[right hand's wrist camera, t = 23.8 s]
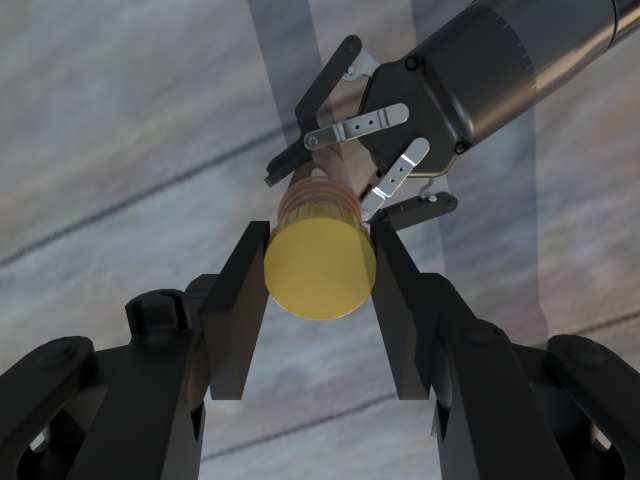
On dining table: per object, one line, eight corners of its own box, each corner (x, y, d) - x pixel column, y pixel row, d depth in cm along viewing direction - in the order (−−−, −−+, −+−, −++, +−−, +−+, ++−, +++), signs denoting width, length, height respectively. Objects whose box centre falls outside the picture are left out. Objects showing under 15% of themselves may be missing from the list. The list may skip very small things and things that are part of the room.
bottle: (347, 147, 31) (387, 211, 12) (342, 197, 32) (372, 319, 14) (295, 144, 31) (259, 203, 12) (293, 194, 32) (259, 313, 14)
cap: (248, 263, 15) (239, 284, 13) (306, 180, 13) (305, 191, 12) (331, 314, 16) (332, 339, 14) (393, 240, 14) (403, 259, 13)
